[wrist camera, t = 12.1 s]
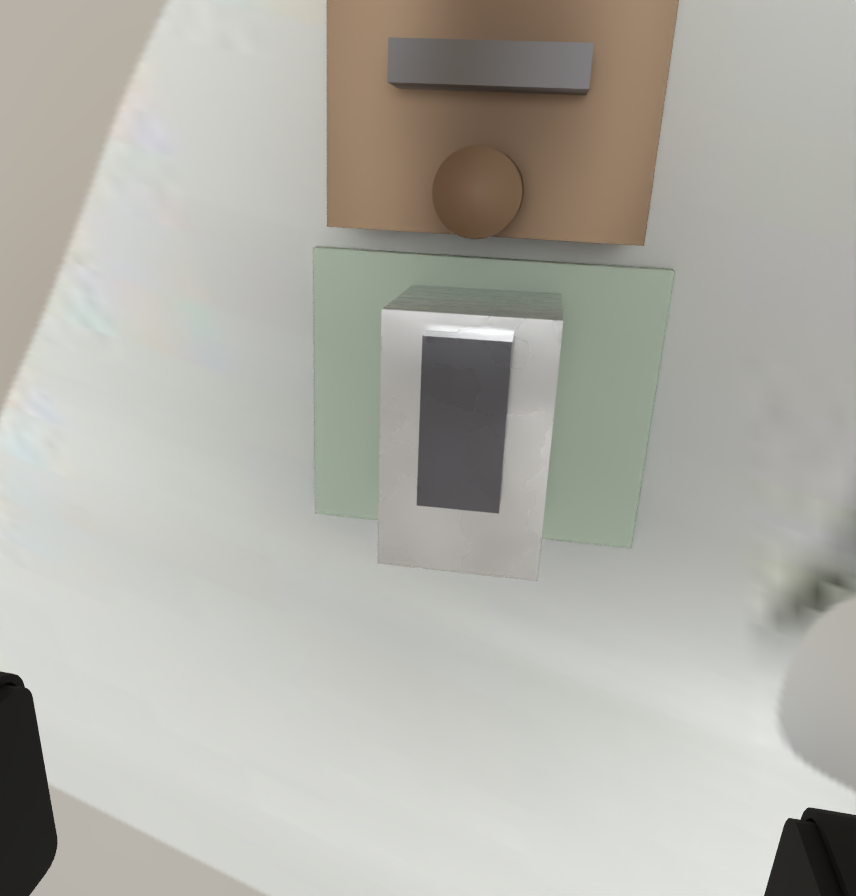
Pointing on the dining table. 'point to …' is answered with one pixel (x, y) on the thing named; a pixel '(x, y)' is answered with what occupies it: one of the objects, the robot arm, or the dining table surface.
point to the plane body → (496, 116)
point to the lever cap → (466, 428)
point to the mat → (578, 385)
